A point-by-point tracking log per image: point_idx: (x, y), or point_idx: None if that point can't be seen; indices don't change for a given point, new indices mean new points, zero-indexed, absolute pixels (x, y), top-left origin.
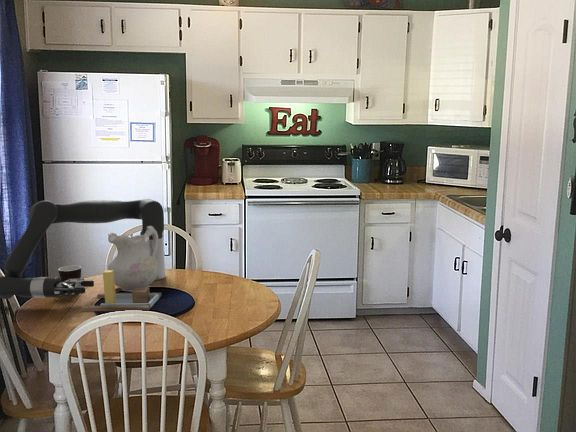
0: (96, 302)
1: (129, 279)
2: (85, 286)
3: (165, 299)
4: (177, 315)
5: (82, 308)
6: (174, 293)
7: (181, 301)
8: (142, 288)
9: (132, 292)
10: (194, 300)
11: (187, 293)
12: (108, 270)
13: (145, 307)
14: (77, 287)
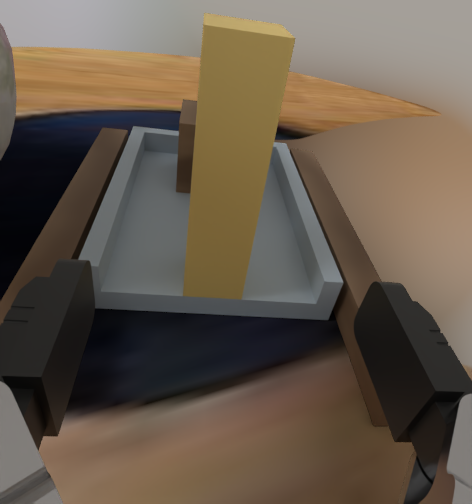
0: (88, 415)
1: (9, 120)
2: (64, 405)
3: None
4: (301, 134)
5: None
6: (34, 132)
7: (156, 125)
8: (196, 111)
9: None
10: (150, 109)
11: (53, 114)
12: (216, 21)
13: (314, 155)
14: (435, 346)
